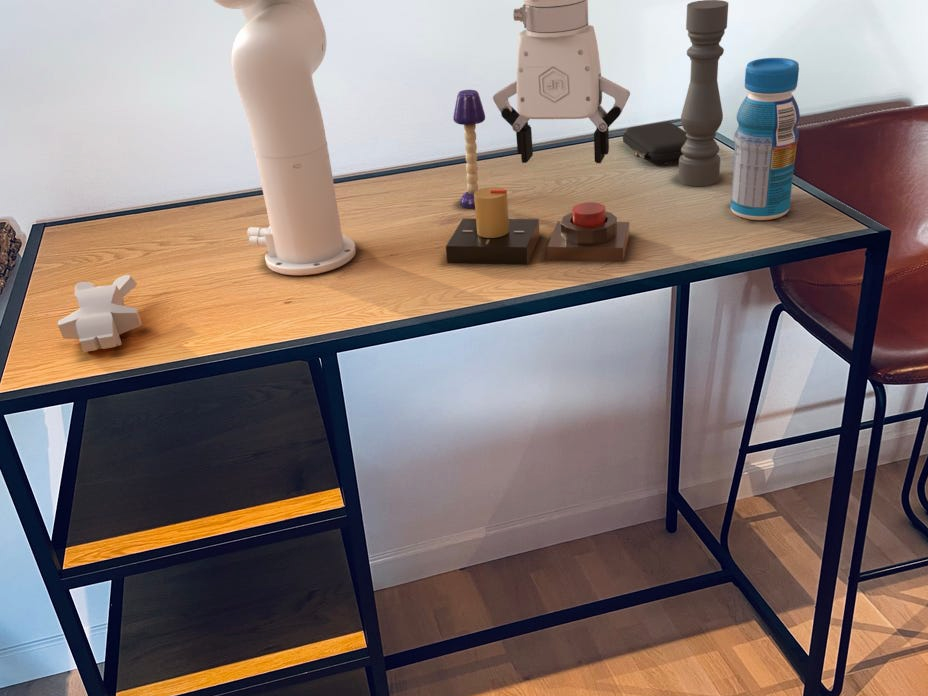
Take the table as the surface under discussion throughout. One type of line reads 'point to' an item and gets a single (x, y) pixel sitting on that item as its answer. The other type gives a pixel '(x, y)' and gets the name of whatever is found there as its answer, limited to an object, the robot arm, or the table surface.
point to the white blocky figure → (101, 315)
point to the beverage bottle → (766, 140)
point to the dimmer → (493, 244)
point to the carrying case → (656, 142)
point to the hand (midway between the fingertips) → (563, 159)
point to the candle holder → (703, 93)
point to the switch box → (589, 241)
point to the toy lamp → (469, 138)
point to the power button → (588, 214)
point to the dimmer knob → (491, 212)
